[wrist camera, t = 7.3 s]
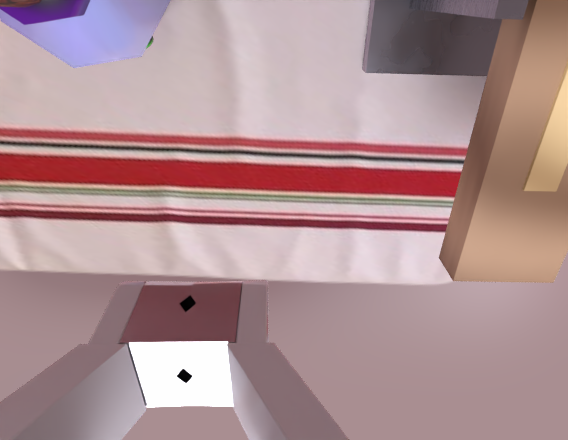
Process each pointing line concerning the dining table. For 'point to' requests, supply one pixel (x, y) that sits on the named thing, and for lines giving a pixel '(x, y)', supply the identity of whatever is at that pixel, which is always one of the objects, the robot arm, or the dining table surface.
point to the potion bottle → (86, 27)
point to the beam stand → (435, 35)
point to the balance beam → (517, 159)
